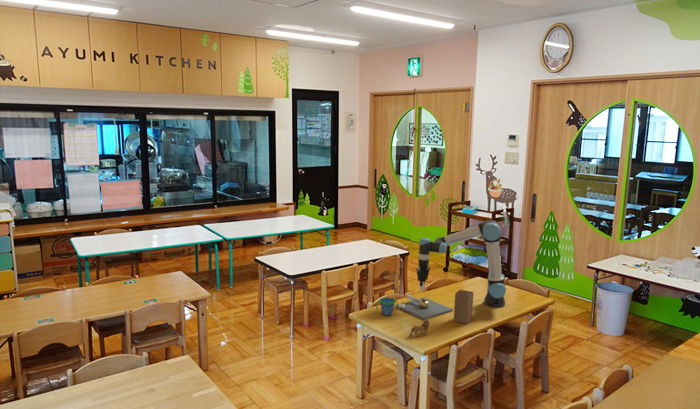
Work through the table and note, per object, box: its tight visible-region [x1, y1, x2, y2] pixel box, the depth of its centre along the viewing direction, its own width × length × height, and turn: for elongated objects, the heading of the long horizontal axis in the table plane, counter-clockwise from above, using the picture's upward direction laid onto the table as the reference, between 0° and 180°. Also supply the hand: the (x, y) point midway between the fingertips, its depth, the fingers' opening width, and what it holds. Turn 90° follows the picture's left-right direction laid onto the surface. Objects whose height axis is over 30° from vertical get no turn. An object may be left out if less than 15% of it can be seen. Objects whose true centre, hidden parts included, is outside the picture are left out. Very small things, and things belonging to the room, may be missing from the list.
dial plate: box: [394, 296, 454, 321], centre depth 354 cm, size 30×30×2 cm
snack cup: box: [375, 297, 399, 316], centre depth 343 cm, size 16×10×10 cm
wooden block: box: [453, 289, 474, 325], centre depth 333 cm, size 10×10×20 cm
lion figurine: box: [409, 319, 431, 338], centre depth 309 cm, size 15×5×9 cm, turn 121°
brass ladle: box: [406, 294, 429, 308], centre depth 359 cm, size 22×7×6 cm, turn 37°
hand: (422, 289), depth 365 cm, fingers closed
